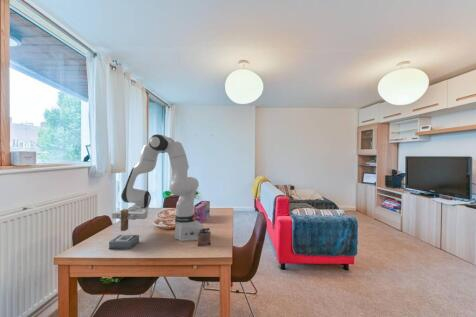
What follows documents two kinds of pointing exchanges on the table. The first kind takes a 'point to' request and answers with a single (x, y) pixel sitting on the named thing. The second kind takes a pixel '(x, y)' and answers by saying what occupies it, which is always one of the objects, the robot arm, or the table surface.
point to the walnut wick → (124, 220)
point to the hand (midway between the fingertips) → (123, 218)
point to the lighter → (204, 237)
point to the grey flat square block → (124, 242)
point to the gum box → (202, 211)
